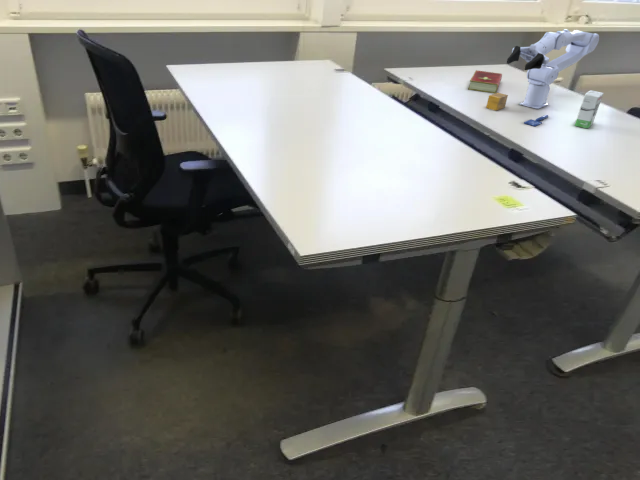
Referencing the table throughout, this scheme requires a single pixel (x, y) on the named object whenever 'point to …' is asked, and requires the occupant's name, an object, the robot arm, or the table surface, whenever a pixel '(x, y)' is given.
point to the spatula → (535, 121)
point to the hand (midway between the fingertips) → (516, 64)
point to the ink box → (588, 109)
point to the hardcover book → (485, 81)
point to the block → (496, 101)
